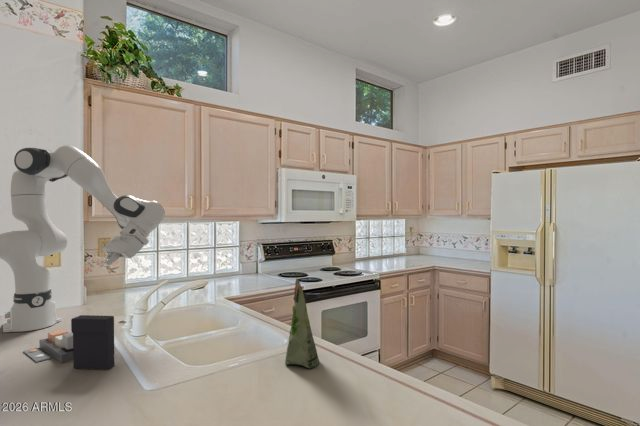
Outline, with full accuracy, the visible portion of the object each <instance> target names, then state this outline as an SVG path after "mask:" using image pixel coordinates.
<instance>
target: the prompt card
mask: <svg viewBox="0 0 640 426" xmlns="http://www.w3.org/2000/svg"><path fill="white" fill-rule="evenodd" d="M22 353H24V354H25V355H26V354H27V355H26V356H28V357H29V358H30V357H31V358H32V359H31V358H30V359H31V360H32V361H34V362H35V363H41V362H44V361H47V360H48V361H49V360H51V356H49V355H48V354H47V353H46V352H45V351H44V352H43V350H42V349H40V348H38V347H34V348H30V349H25V350H23V351H22Z"/></svg>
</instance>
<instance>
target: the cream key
mask: <svg viewBox="0 0 640 426" xmlns="http://www.w3.org/2000/svg"><path fill="white" fill-rule="evenodd" d="M55 346H57V347H58V348H59V347H63V346H62V335H61V336H56V337H55Z"/></svg>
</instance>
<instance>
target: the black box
mask: <svg viewBox="0 0 640 426" xmlns="http://www.w3.org/2000/svg"><path fill="white" fill-rule="evenodd" d="M70 326H71V329H70V332H72V333H73V360H72V362H73V369H75V370H99V371H100V370H101V371H108V370H109V369H112V368H113V367H115V316H114V315H93V314H92V315H87V314H86V315H84V314H81V315H78V316H75V317H72V318H71V320H70Z"/></svg>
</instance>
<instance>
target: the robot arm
mask: <svg viewBox="0 0 640 426" xmlns="http://www.w3.org/2000/svg"><path fill="white" fill-rule="evenodd" d="M13 163H14V166H15V167H16V169H17V170H16V171H14V172H13V173H12V175H11V181H10V201H11V203H10V204H11V213H12V216H13V217H14V218H15V219H16V220H17V221H20V222H22V223H24V225H26V228H27V229H28V230H27V229H26V230H12V231H7V232H3V233H0V259H1V260H3V261H4V262H6V263H7V265H8V266H9V267H10V268H11V271H12V272H13V276H14V287H15V289H14V292H15V293H14V294H13V297H12V298H13V300H12V301H13V303H12V306H11V307H10V310H9V311H7V312H4V318H5V319H7V320H5V321H3V322H2V333H12V332H14V333H15V332H16V333H18V332H30V331H36V330H41V329H44V328H48V327H50V326H53V325H55V324H56V323H59V322H61V321H62V318H61V317H58V316H57V304H56V303H57V302H56V301H54V300H52V294H53V293H52V289H51V276H50V275H51V273H50V270H49V269H48V268H46V267H45V266H41V265H39V263H38V262H37V260H36V258H37V257H44V256H45V257H46V256H53V255H56V254H59V253H62V252H64V250H65V249H66V248H67V246H68V237H67V235H66V233H64V231H62V230H60V229H59V228H58V227H57V226H56V225H55V224H54V223H53V222H52V220H51V218H50V216H49V211H48V206H47V198H46V189H45V188H46V183H47V182H51V183H53V182H55V181H58V180H61V179H62V180H63V179H65V178H70V179H71V181H74V182H75V183H76V184H77V185H78V186H80V187H81V188H82V189H83V190H85V191H86V192H87V193H89V194H90V195H91V196H92V197H94V198H95V199H96V200H97V201H98V202H99V203H100V204H101V205H102V206H104V207H105V208H106V209H107V210H108V212H110V213H111V214H112V215H113V216H114V218H115V219H116V221H117V224H118V227H119V228H120V229H121V230H120V231H119V235H120V236H119V235H117V236H114V237H113V238H112V239H111V240H110V241H108V242H107V243H106V244H105V245H104V246H103V247H102V249H101V251H102V252H104V254H105V255H107V256H106V258H105V259H104V260H103V262H102V263H103V264H104V266H111V265H112V264H113V263H114V262H116V261H118V260H119V258H124V259H131V258H134V257H135V256H136V255H137V254H138V253H139V252H140V251H141V250H142V249H143V248H144V246H146V245H148V244H149V242H150V240H149V239H148V237H149V236H150V234H151V233H152V232H153V231H154V230H156V229H157V228H158V226H160V224H161V223H162V222H163V220H164V219H165V217H166V212H165V209H164V208H163V206H162V205H161V204H160V203H159V202H158V201H156V200H144V199H140V198H138V197H135V196H134V195H130V194H125V195H121V196H119V197H118V196H117V195H116V194H115V193H114V192H113V190H112V189H111V187H110V185H109V182H108V180H107V178H106V175H105V172H104V171H103V169H102V168H101V166H100V165H99V164H98V163H97V161H95V160H94V159H93V158H92V157H90V156H89V155H88V154H87V153H85V152H84V151H82V150H80V149H79V148H78V147H76V146H74V145H70V144H65V145H64V144H63V145H62V146H59V147H58V148H57V149H56V150H55V151H52V150H49V149H44V148H43V149H42V148H37V147H24V148H21V149H19V150H18V151H17V152H16V154H15V155H14V158H13Z"/></svg>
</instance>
